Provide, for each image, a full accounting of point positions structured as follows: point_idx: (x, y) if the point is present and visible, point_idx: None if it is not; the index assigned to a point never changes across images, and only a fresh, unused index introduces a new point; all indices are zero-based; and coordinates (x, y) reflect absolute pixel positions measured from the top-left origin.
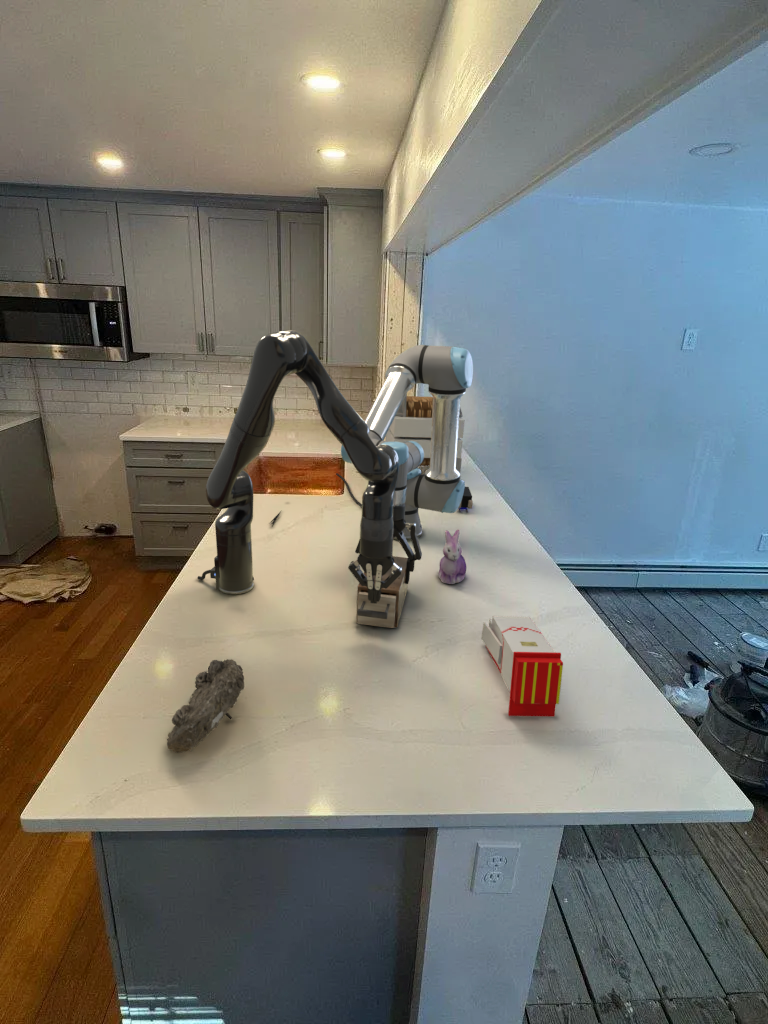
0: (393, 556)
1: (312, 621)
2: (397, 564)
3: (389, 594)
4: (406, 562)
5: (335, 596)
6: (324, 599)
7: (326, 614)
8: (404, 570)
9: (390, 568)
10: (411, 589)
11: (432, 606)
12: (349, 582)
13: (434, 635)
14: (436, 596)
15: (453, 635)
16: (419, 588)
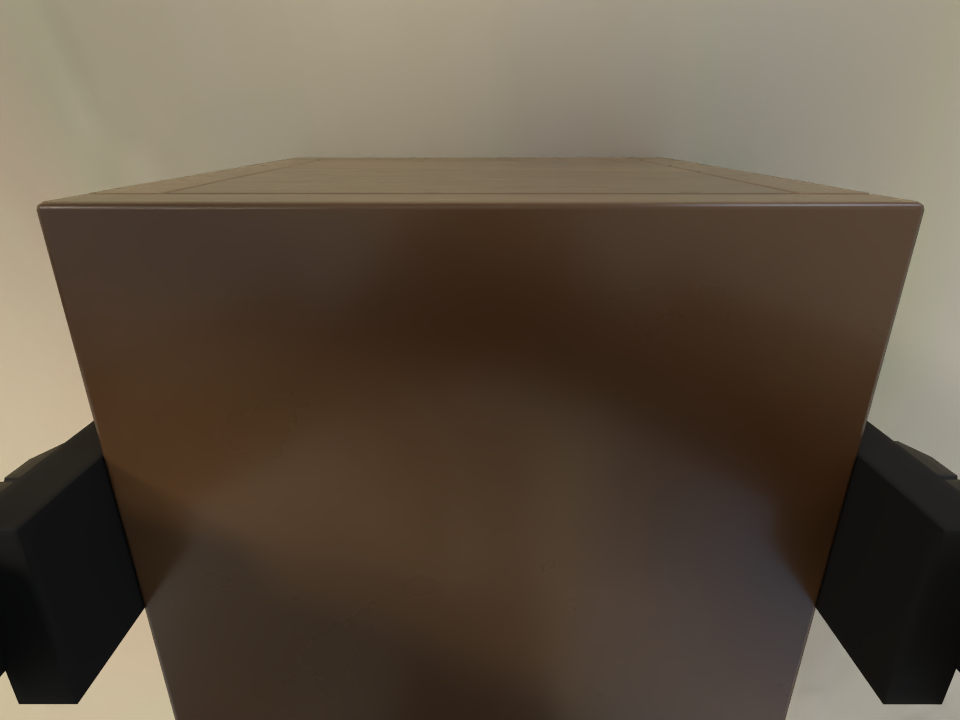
0: (548, 223)
1: (93, 714)
2: (657, 553)
3: None
4: (835, 444)
5: (63, 410)
6: (9, 472)
7: (132, 638)
8: (775, 708)
9: (550, 695)
10: (710, 103)
11: (880, 386)
12: (44, 108)
13: (835, 702)
14: (954, 196)
15: (954, 683)
16: (799, 55)
